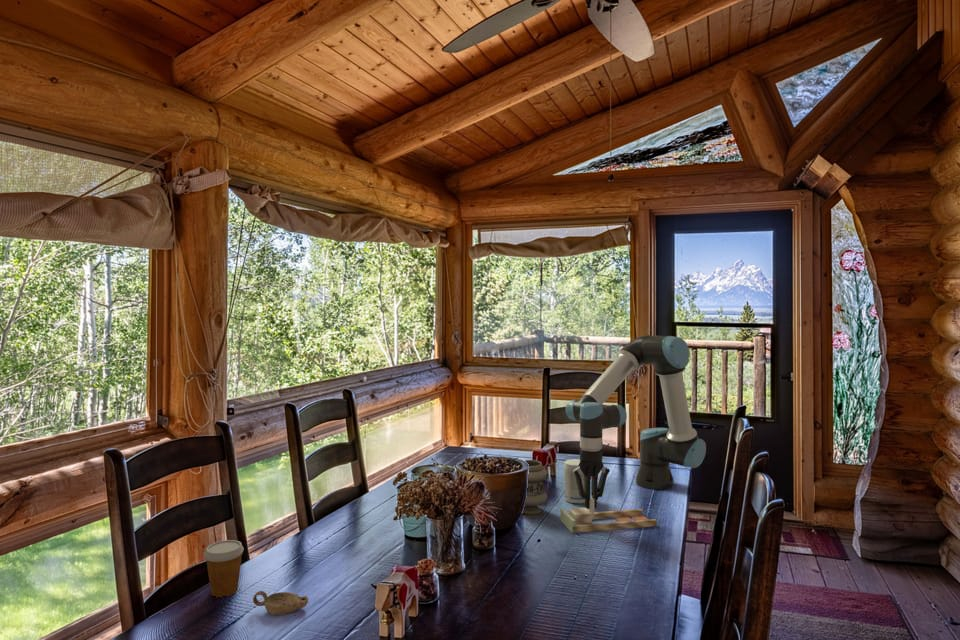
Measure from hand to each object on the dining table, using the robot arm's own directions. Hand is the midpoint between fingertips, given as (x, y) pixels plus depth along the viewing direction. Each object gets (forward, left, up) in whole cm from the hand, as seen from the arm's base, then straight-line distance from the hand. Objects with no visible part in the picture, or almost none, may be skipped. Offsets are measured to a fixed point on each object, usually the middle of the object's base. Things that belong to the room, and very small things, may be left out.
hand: (590, 517), depth 204 cm
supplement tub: (-4, -25, -3) cm, 26 cm away
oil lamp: (+96, +39, -3) cm, 104 cm away
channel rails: (-6, 0, -2) cm, 7 cm away
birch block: (+4, 0, -3) cm, 5 cm away
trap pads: (-16, 0, -2) cm, 16 cm away
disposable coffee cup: (+112, +26, -3) cm, 115 cm away
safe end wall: (+8, 0, -2) cm, 9 cm away
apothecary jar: (+17, -16, -3) cm, 23 cm away
